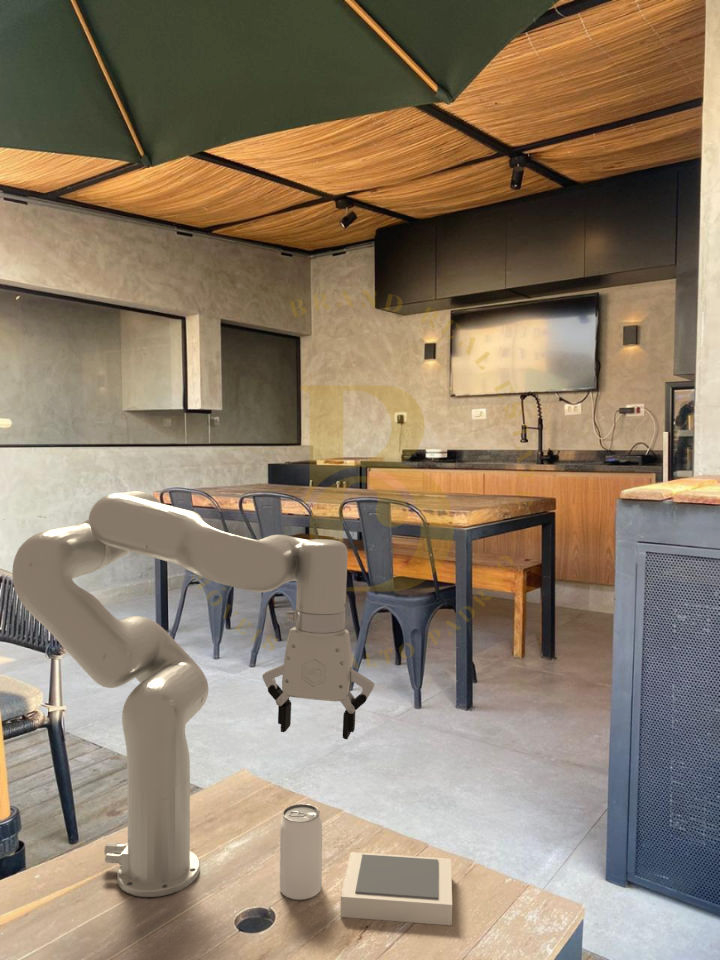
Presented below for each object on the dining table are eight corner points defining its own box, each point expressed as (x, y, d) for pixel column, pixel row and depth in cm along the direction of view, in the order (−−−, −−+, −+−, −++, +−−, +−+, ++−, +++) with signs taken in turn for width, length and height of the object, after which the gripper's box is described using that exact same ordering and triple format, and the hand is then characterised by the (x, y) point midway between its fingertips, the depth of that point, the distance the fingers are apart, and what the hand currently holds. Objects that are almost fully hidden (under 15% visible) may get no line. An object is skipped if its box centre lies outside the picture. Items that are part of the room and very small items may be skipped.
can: (315, 904, 109) (316, 825, 108) (274, 898, 110) (274, 820, 110) (326, 879, 115) (326, 804, 115) (286, 874, 116) (287, 800, 116)
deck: (340, 916, 106) (340, 894, 106) (350, 870, 118) (350, 850, 118) (451, 925, 104) (452, 902, 104) (450, 877, 116) (450, 856, 116)
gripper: (257, 622, 109) (253, 735, 110) (372, 632, 106) (367, 748, 106) (272, 611, 116) (269, 718, 117) (380, 620, 113) (375, 729, 114)
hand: (315, 732), depth 112 cm, fingers open, 9 cm apart
